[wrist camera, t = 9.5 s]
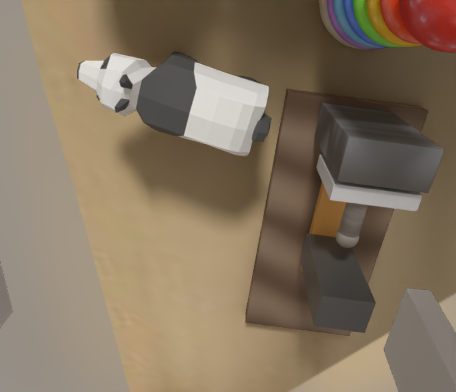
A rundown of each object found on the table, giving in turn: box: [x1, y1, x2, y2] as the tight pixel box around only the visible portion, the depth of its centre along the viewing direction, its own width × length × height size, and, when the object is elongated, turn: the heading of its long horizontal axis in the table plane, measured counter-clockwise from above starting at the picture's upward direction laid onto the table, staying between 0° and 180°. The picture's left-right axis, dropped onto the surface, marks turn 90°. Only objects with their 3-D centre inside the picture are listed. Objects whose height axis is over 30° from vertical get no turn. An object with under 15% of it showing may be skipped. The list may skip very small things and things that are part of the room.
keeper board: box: [246, 89, 444, 336], centre depth 34 cm, size 26×12×12 cm, turn 173°
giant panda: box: [77, 52, 271, 156], centre depth 30 cm, size 15×6×10 cm, turn 73°
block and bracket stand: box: [300, 154, 422, 333], centre depth 32 cm, size 13×6×10 cm, turn 173°
